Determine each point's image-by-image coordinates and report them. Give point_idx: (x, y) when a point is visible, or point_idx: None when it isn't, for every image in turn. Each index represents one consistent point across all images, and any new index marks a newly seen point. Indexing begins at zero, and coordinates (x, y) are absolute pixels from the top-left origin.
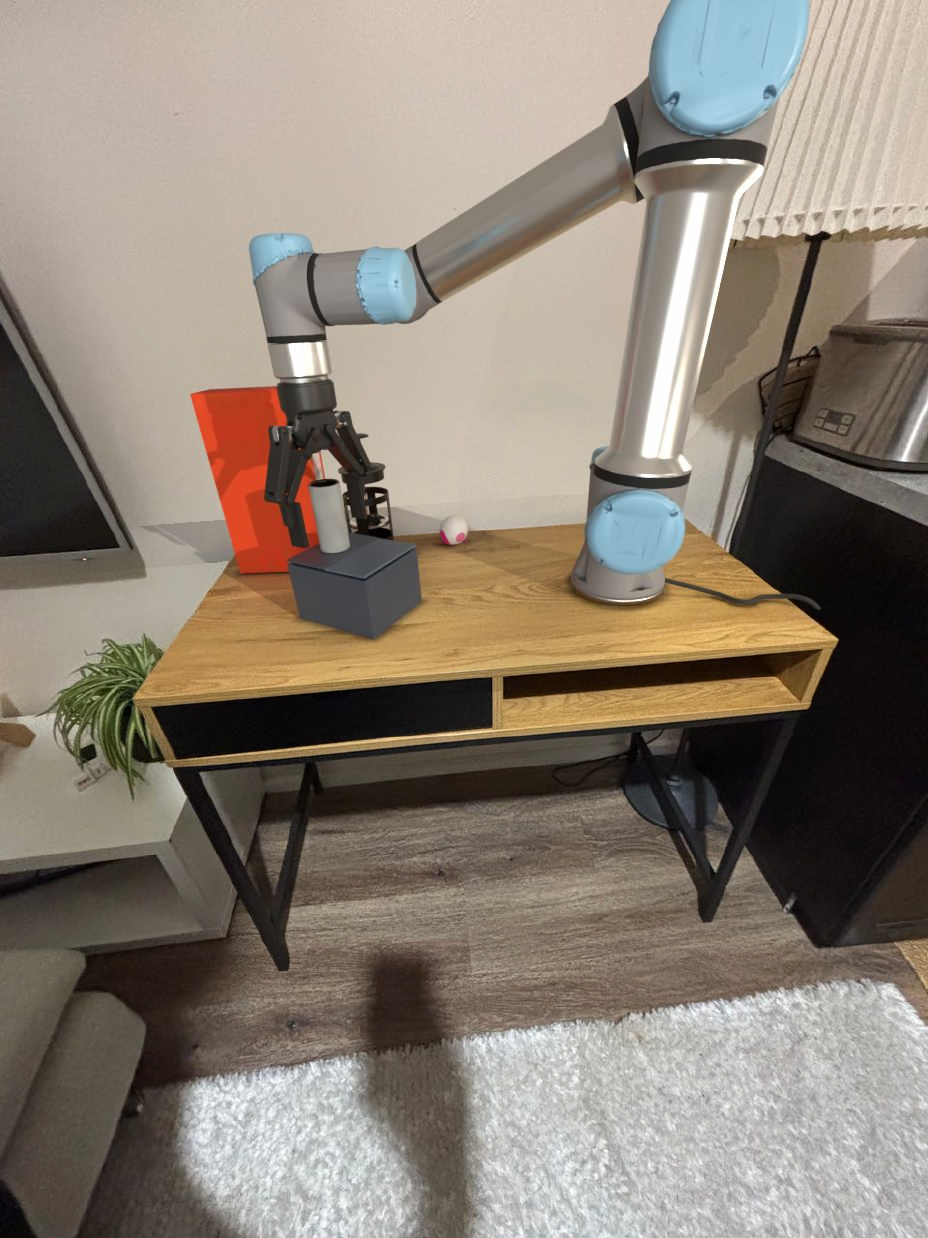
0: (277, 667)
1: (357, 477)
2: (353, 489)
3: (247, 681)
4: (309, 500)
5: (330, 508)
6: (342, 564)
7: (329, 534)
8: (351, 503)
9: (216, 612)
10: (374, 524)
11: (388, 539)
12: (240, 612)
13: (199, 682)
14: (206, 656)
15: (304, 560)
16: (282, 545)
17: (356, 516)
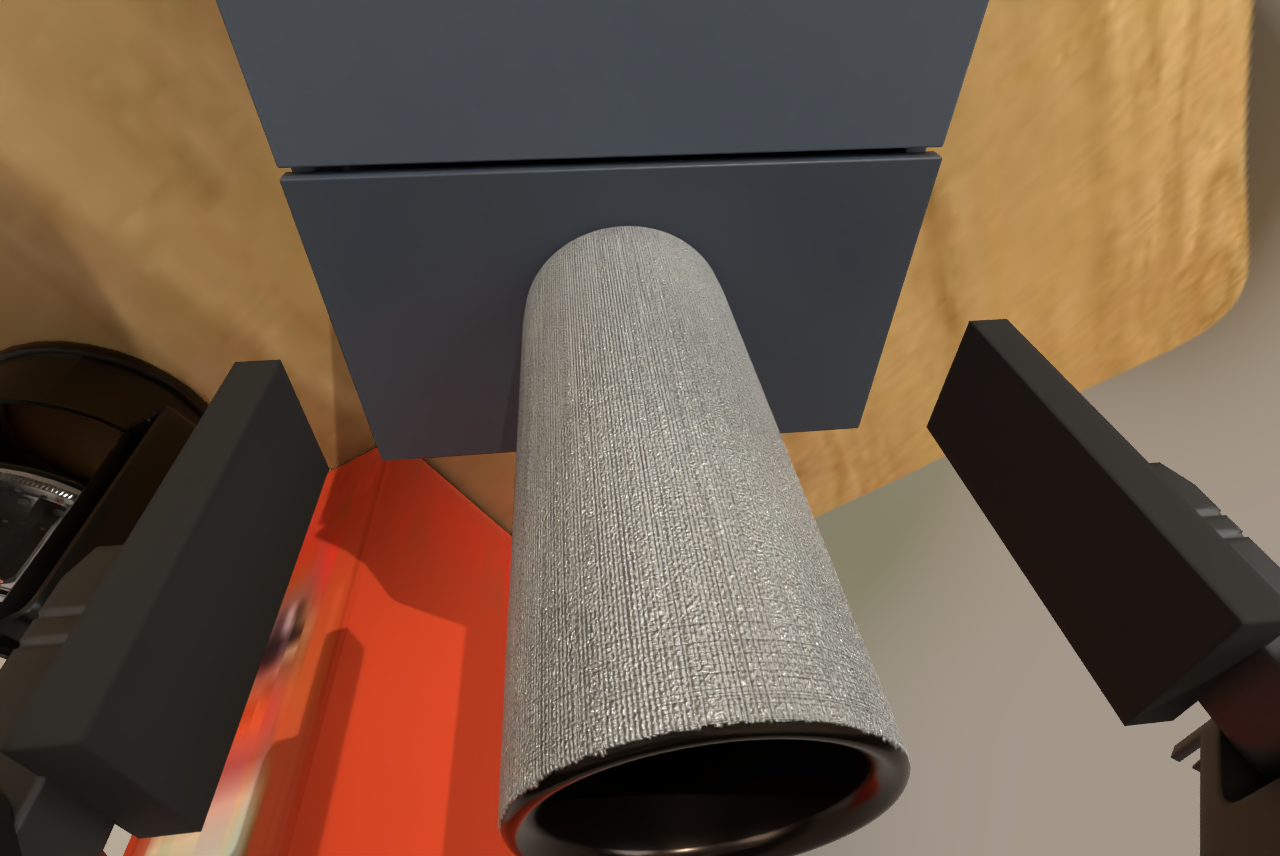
0: (1125, 49)
1: (51, 782)
2: (210, 650)
3: (1215, 86)
4: (349, 757)
5: (775, 481)
6: (863, 56)
7: (744, 346)
8: (286, 548)
9: (808, 497)
10: (17, 505)
11: (3, 394)
12: (788, 449)
13: (1198, 236)
14: (1048, 334)
15: (856, 342)
16: (497, 617)
17: (307, 438)
